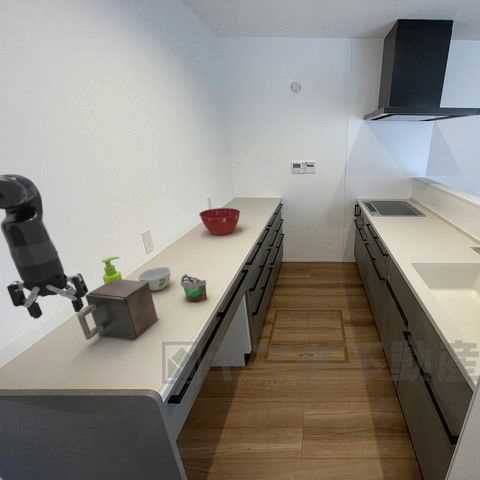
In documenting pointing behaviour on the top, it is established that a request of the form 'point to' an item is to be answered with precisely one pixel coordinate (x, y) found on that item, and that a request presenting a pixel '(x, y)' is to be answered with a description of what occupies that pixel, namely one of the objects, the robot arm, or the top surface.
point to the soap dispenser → (110, 270)
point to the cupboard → (132, 301)
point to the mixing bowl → (220, 220)
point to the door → (107, 317)
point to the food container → (194, 288)
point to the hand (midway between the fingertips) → (59, 313)
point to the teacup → (156, 278)
